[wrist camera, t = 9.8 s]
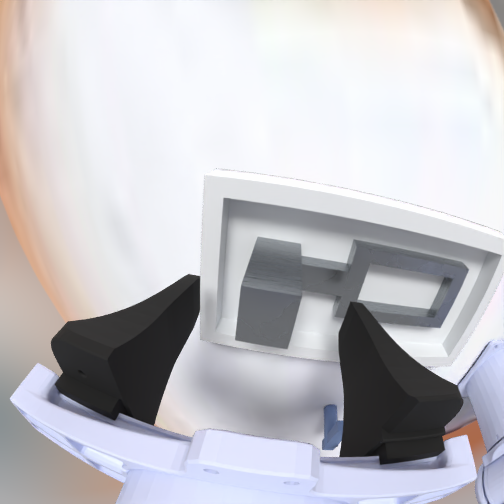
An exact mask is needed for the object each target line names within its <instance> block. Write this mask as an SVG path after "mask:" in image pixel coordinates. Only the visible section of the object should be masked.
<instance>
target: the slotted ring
mask: <svg viewBox="0 0 504 504" xmlns="http://www.w3.org/2000/svg"><path fill="white" fill-rule="evenodd" d="M370 264H376V265H381V266H387V267H393V268H398V269H404V270H409V271H415V272H420V273H426V274H431V275H437V276H442V277H444V279H443V282H442V284H441V286H440V288H439V290H438V293H437V295H436V297H435V299H434V301H433V303H432V305H431V307H430V309H425V308H417V307H409V306H401V305H393V304H386V303H378V302H371V301H364V300H358V297H359V294H360V291H361V289H362V286H363V283H364V280H365V277H366V274H367V271H368V268H369V265H370ZM468 271H469V269H468V267H467V266H466V265H465V264H464V263H463V262H461V261H456V260H452V259H447V258H443V257H438V256H434V255H429V254H424V253H420V252H415V251H410V250H406V249H401V248H396V247H391V246H386V245H381V244H376V243H371V242H366V241H360V240H355V239H353V243H352V246H351V250H350V254H349V257H348V260H347V263H342V262H336V261H330V260H324V259H319V258H313V257H307V256H301V244H300V243H294V242H288V241H282V240H276V239H270V238H264V237H257V240H256V243H255V246H254V249H253V252H252V254H251V257H250V260H249V263H248V266H247V269H246V272H245V275H244V278H243V281H242V284H241V289H240V298H239V307H238V317H237V326H236V335H235V340H236V341H241V342H247V343H252V344H258V345H263V346H269V347H275V348H282V349H288V346H289V343H290V339H291V336H292V332H293V329H294V325H295V321H296V318H297V314H298V310H299V306H300V303H301V299H302V290H303V291H310V292H316V293H322V294H329V295H335V296H336V299H335V302H334V305H333V311H334V317H339V318H344V317H345V315H346V312H347V309H348V307H349V304H350V301H352V302H359V303H363V304H364V305H365V307H366V308H367V309H368V310H369V311H370V313H371V314H372V315H373V316H374V318H375V319H376V320H377V321H378V322H379V323H388V324H398V325H408V326H419V327H431V328H441V326H442V324H443V322H444V321H445V319H446V317H447V315H448V313H449V311H450V309H451V307H452V306H453V304H454V302H455V300H456V298H457V295H458V293H459V291H460V289H461V287H462V285H463V283H464V280H465V278H466V276H467V274H468Z"/></svg>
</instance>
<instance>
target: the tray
mask: <svg viewBox="0 0 504 504" xmlns="http://www.w3.org/2000/svg"><path fill="white" fill-rule="evenodd" d="M257 237H264V238H270V239H276V240H282V241H288V242H294V243H300V244H301V256H307V257H313V258H319V259H324V260H330V261H336V262H342V263H347V260H348V257H349V254H350V250H351V246H352V243H353V239H355V240H360V241H366V242H371V243H376V244H381V245H386V246H391V247H396V248H401V249H406V250H410V251H415V252H420V253H424V254H429V255H434V256H438V257H443V258H447V259H452V260H456V261H461V262H463V263H464V264H465V265H466V266H467V267H468V269H469V271H468V274H467V276H466V278H465V280H464V283H463V285H462V287H461V289H460V291H459V293H458V295H457V298H456V300H455V302H454V304H453V306H452V307H451V309H450V311H449V313H448V315H447V317H446V319H445V321H444V322H443V324H442V326H441V328H431V327H419V326H408V325H398V324H388V323H379V322H378V323H379V324H380V325H381V326H382V327H383V329H384V330H385V331H386V332H387V333H388V334H389V335H390V337H391V338H392V339H393V340H394V341H395V342H396V343H397V344H398V345H399V346H400V347H401V348H402V349H403V350H404V351H405V352H407V353H408V354H409V355H410V356H411V357H412V358H413V359H415V360H416V361H417V362H419V363H420V364H421V365H422V366H424V367H429V366H451V365H452V364H453V362H454V361H455V359H456V358H457V357H458V355H459V354H460V352H461V351H462V349H463V348H464V346H465V345H466V343H467V341H468V340H469V338H470V337H471V335H472V333H473V332H474V330H475V328H476V327H477V325H478V323H479V322H480V320H481V318H482V316H483V314H484V313H485V311H486V309H487V307H488V305H489V303H490V301H491V299H492V297H493V295H494V293H495V291H496V289H497V287H498V285H499V283H500V281H501V278H502V276H503V274H504V234H502V233H501V232H500V231H497V230H494V229H492V228H489V227H486V226H483V225H480V224H477V223H474V222H471V221H468V220H465V219H462V218H459V217H456V216H452V215H449V214H446V213H442V212H439V211H436V210H432V209H429V208H425V207H421V206H418V205H414V204H410V203H406V202H403V201H399V200H395V199H391V198H387V197H382V196H378V195H374V194H369V193H365V192H360V191H356V190H351V189H346V188H341V187H336V186H331V185H326V184H321V183H315V182H310V181H304V180H298V179H292V178H286V177H279V176H273V175H266V174H259V173H251V172H243V171H235V170H226V169H217V168H216V169H214V170H212V171H210V172H209V173H207V174H205V176H204V192H203V211H202V235H201V270H200V340H203V341H208V342H212V343H217V344H222V345H227V346H232V347H237V348H242V349H247V350H253V351H259V352H265V353H271V354H277V355H284V356H290V357H298V358H305V359H313V360H322V361H331V362H340V359H339V351H338V333H339V330H340V328H341V325H342V323H343V320H344V318H339V317H334V311H333V305H334V302H335V299H336V296H335V295H329V294H322V293H316V292H310V291H303V290H302V299H301V303H300V306H299V310H298V314H297V318H296V321H295V325H294V329H293V332H292V336H291V339H290V343H289V346H288V349H282V348H275V347H269V346H263V345H258V344H252V343H247V342H241V341H236V340H235V335H236V326H237V317H238V307H239V298H240V289H241V284H242V281H243V278H244V275H245V272H246V269H247V266H248V263H249V260H250V257H251V254H252V252H253V249H254V246H255V243H256V240H257ZM443 279H444V277H442V276H437V275H431V274H426V273H420V272H415V271H409V270H404V269H398V268H393V267H387V266H381V265H376V264H370V265H369V268H368V271H367V274H366V277H365V280H364V283H363V286H362V289H361V291H360V294H359V297H358V300H364V301H371V302H378V303H386V304H393V305H401V306H409V307H417V308H425V309H430V307H431V305H432V303H433V301H434V299H435V297H436V295H437V293H438V290H439V288H440V286H441V284H442V282H443Z"/></svg>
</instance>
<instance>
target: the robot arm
mask: <svg viewBox="0 0 504 504" xmlns="http://www.w3.org/2000/svg"><path fill="white" fill-rule="evenodd" d="M199 312H200V276H196V275H190V274H188V275H186V276H184V277H183V278H181V279H180V280H178V281H177V282H175V283H173V284H172V285H170V286H169V287H167V288H165V289H164V290H162V291H161V292H159V293H157V294H155V295H153V296H152V297H150V298H148V299H146V300H144V301H142V302H140V303H138V304H136V305H133V306H131V307H129V308H126V309H123V310H120V311H117V312H114V313H111V314H108V315H104V316H100V317H95V318H91V319H85V320H77V321H68V322H67V323H66V324H65V325H64V327H63V328H62V329H61V330H60V331H59V332H58V333H57V334H56V335H55V336H54V337H53V339H52V341H51V348H52V351H53V354H54V356H55V358H56V360H57V362H58V363H59V366H60V367H61V369H62V371H63V374H62V375H61V376H60V377H59V376H58V375H57V374H55V373H54V372H53V371H51V370H50V369H48V368H46V367H45V366H43V365H41V364H40V363H37V364H36V366H35V367H34V368H33V369H32V371H31V372H30V373H29V374H28V375H27V377H26V378H25V379H24V381H23V382H22V383H21V384H20V386H19V387H18V388H17V390H16V391H15V392H14V394H13V395H12V396H11V398H10V400H11V402H12V403H13V404H14V405H15V407H16V408H17V409H18V410H19V411H20V412H21V414H22V415H23V416H24V417H25V418H26V419H27V420H28V421H29V423H30V424H31V425H32V426H33V427H34V428H35V429H36V430H38V431H39V432H40V433H42V434H43V435H45V436H46V437H47V438H49V439H50V440H52V441H53V442H55V443H56V444H57V445H59V446H60V447H62V448H63V449H65V450H66V451H68V452H69V453H71V454H73V455H74V456H76V457H77V458H79V459H81V460H82V461H84V462H85V463H87V464H89V465H91V466H92V467H94V468H96V469H98V470H99V471H101V472H103V473H105V474H107V475H109V476H110V477H112V478H114V479H116V480H118V481H120V482H122V483H124V485H123V487H122V490H121V492H120V494H119V497H118V499H117V501H116V504H425V503H429V502H433V501H436V500H439V499H442V498H444V497H446V496H448V495H449V494H452V493H453V492H455V491H457V490H459V489H461V488H462V487H464V486H466V485H467V484H469V483H471V482H472V481H474V480H475V493H476V498H477V501H478V504H504V340H498V341H491V342H490V343H489V344H488V346H487V347H486V349H485V350H484V352H483V353H482V354H481V356H480V357H479V359H478V360H477V362H476V363H475V364H474V366H473V367H472V368H471V370H470V371H469V372H468V374H467V375H466V376H465V378H464V379H463V380H462V381H461V383H460V384H459V385H458V386H457V385H455V384H453V383H451V382H449V381H447V380H445V379H443V378H441V377H439V376H438V375H436V374H434V373H433V372H431V371H430V370H428V369H427V368H425V367H424V366H422V365H421V364H420V363H419V362H417V361H416V360H415V359H413V358H412V357H411V356H410V355H409V354H408V353H407V352H405V351H404V350H403V349H402V348H401V347H400V346H399V345H398V344H397V343H396V342H395V341H394V340H393V339H392V338H391V337H390V335H389V334H388V333H387V332H386V331H385V330H384V329H383V327H382V326H381V325H380V324H379V323H378V321H377V320H376V319H375V318H374V316H373V315H372V314H371V313H370V311H369V310H368V309H367V308H366V307H365V305H364V304H363V303H359V302H352V301H350V304H349V307H348V309H347V312H346V315H345V317H344V320H343V323H342V325H341V328H340V330H339V333H338V351H339V359H340V366H341V373H342V381H343V389H344V418H343V432H342V442H341V450H340V456H339V457H320V450H319V449H318V448H316V447H315V446H313V445H312V444H310V443H304V442H299V441H292V440H282V439H274V438H266V437H259V436H253V435H247V434H241V433H236V432H231V431H226V430H218V429H204V430H199V431H196V432H195V434H194V435H193V437H188V436H184V435H181V434H178V433H174V432H171V431H168V430H165V429H162V428H159V427H156V426H154V424H155V420H156V416H157V413H158V409H159V406H160V403H161V400H162V397H163V394H164V391H165V388H166V385H167V382H168V379H169V377H170V374H171V372H172V369H173V366H174V364H175V362H176V360H177V358H178V356H179V354H180V352H181V351H182V349H183V347H184V345H185V343H186V341H187V339H188V337H189V336H190V334H191V332H192V330H193V328H194V326H195V323H196V320H197V317H198V315H199ZM463 397H469V399H470V401H471V404H472V407H473V409H474V412H475V415H476V418H477V421H478V424H479V427H480V430H481V433H482V436H483V439H484V443H485V446H486V450H487V454H485V455H484V456H483V457H482V459H483V464H482V465H481V466H480V468H479V470H478V473H476V469H475V464H474V460H473V456H472V452H471V448H470V445H469V441H468V437H467V435H463V436H458V437H454V438H450V439H448V440H445V441H444V442H443V438H442V436H443V435H444V434H445V428H444V426H445V425H446V424H447V423H448V422H450V421H451V420H452V419H453V418H454V417H455V416H456V414H457V413H458V412H459V411H460V409H461V407H462V405H463V399H462V398H463Z"/></svg>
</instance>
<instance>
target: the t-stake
mask: <svg viewBox="0 0 504 504" xmlns="http://www.w3.org/2000/svg"><path fill="white" fill-rule="evenodd" d="M342 432H343V421H337V406H335V405H328V406H326V407H325V408H324V439H323V440H322V450H333V449H334V448H335V447H337V446H338V444H339V443H340V442H341V441H342Z"/></svg>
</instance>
